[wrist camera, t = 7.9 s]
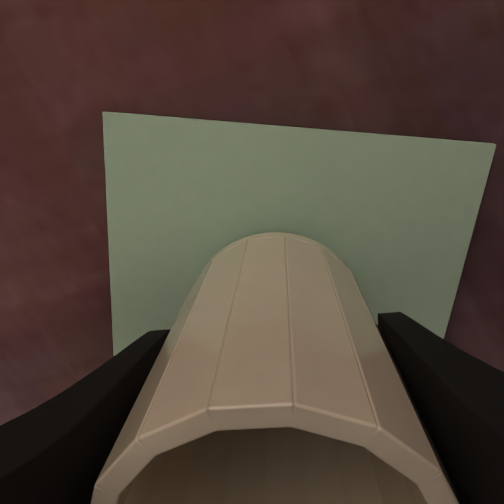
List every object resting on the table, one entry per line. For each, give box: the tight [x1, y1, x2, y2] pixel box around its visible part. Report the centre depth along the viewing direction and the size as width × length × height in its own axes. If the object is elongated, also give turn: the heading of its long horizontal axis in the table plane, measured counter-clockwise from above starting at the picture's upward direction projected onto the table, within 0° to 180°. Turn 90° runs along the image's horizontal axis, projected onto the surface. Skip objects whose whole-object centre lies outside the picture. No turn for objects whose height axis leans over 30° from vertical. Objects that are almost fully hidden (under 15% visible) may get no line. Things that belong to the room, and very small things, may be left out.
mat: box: [103, 112, 496, 356], centre depth 14 cm, size 12×12×1 cm
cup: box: [91, 232, 461, 504], centre depth 10 cm, size 6×6×8 cm
